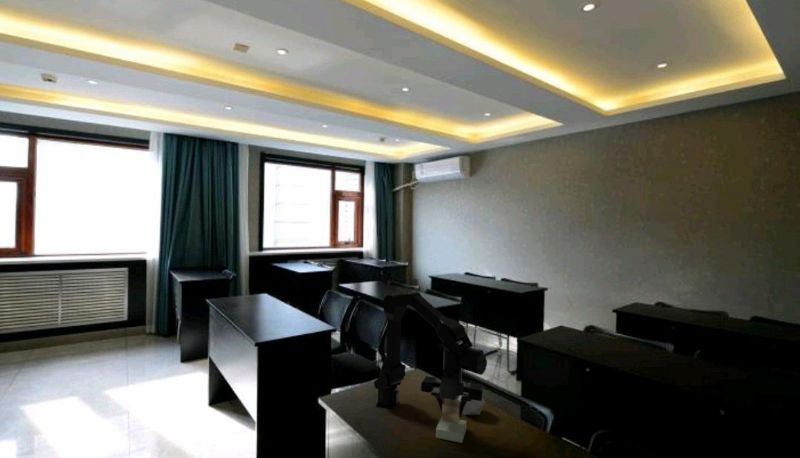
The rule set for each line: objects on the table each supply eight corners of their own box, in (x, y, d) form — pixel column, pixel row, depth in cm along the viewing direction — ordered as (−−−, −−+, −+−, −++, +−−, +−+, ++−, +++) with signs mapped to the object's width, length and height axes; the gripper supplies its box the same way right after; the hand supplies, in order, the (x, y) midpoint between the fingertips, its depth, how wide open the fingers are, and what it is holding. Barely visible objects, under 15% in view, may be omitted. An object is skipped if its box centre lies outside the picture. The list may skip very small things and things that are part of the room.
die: (478, 424, 123) (492, 396, 126) (454, 408, 124) (468, 380, 127) (472, 420, 131) (486, 394, 134) (450, 405, 132) (464, 379, 135)
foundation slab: (435, 438, 114) (435, 429, 114) (441, 425, 121) (441, 416, 121) (462, 444, 111) (462, 434, 111) (466, 430, 119) (466, 420, 119)
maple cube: (441, 421, 115) (442, 404, 114) (444, 413, 119) (445, 397, 119) (458, 424, 113) (458, 407, 113) (460, 416, 118) (461, 400, 118)
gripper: (416, 370, 111) (415, 422, 111) (480, 379, 105) (479, 435, 106) (425, 357, 122) (424, 405, 122) (484, 365, 116) (483, 416, 116)
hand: (451, 415), depth 116 cm, fingers closed on maple cube, 5 cm apart
